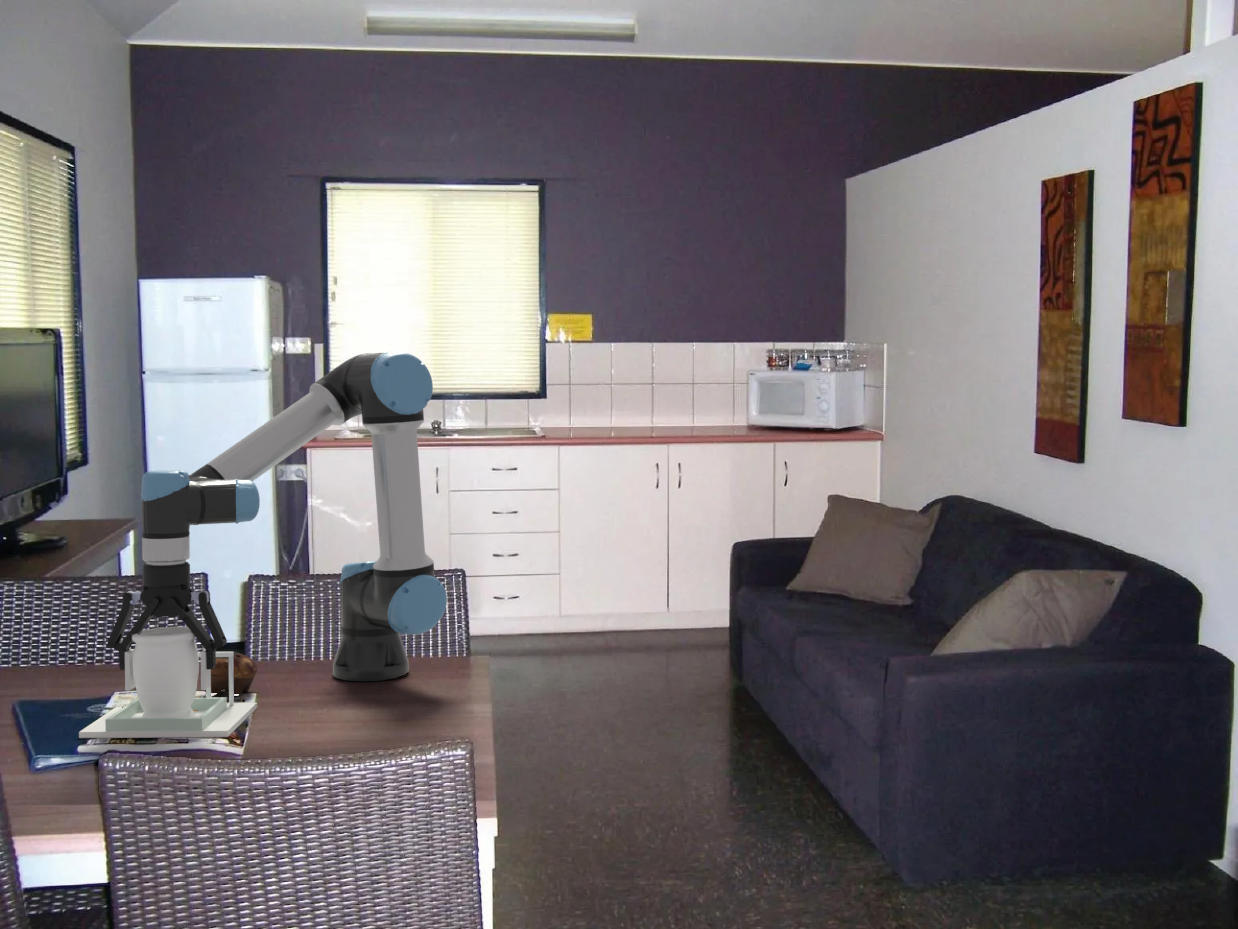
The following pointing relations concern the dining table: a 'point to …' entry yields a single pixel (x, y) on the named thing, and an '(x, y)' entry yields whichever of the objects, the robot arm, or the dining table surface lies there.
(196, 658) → the jar
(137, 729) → the dish rack
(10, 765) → the dining table surface
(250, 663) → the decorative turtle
